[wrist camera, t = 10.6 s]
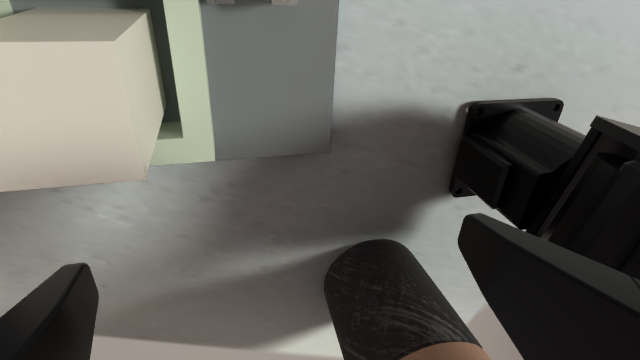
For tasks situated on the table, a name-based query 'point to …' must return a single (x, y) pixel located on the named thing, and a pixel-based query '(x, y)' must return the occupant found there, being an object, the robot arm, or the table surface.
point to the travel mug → (393, 308)
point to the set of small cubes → (272, 0)
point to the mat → (252, 71)
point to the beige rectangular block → (78, 97)
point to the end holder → (181, 88)
